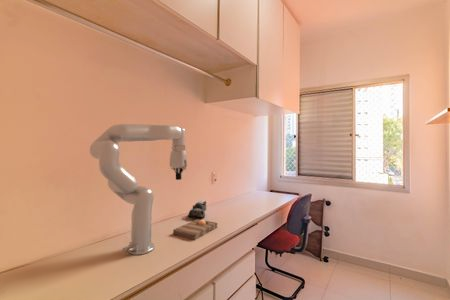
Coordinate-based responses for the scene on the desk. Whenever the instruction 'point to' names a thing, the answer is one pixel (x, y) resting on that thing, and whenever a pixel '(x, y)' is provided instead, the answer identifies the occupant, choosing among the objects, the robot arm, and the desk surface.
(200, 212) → the lucky cat figurine
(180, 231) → the board
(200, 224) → the ball
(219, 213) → the desk surface
